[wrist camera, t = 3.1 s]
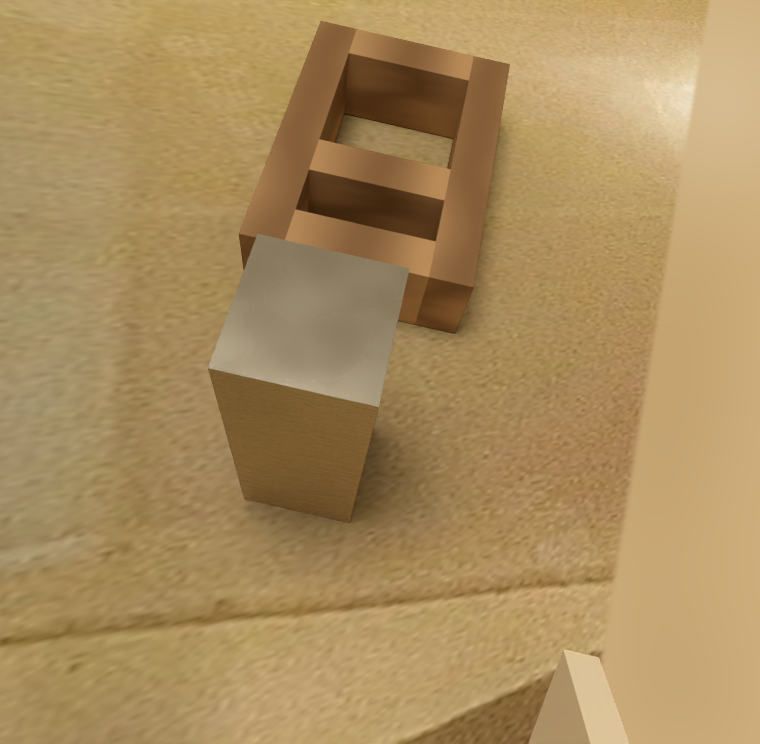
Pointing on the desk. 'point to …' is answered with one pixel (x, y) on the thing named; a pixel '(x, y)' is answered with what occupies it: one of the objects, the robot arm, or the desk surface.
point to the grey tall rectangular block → (305, 372)
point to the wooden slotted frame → (386, 165)
